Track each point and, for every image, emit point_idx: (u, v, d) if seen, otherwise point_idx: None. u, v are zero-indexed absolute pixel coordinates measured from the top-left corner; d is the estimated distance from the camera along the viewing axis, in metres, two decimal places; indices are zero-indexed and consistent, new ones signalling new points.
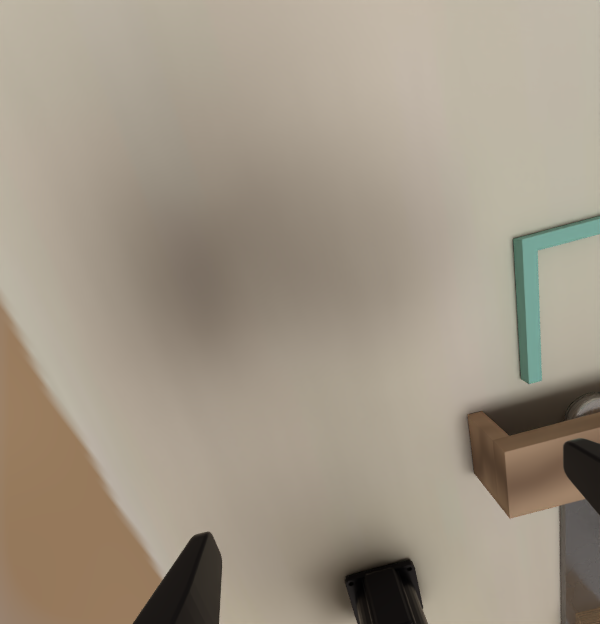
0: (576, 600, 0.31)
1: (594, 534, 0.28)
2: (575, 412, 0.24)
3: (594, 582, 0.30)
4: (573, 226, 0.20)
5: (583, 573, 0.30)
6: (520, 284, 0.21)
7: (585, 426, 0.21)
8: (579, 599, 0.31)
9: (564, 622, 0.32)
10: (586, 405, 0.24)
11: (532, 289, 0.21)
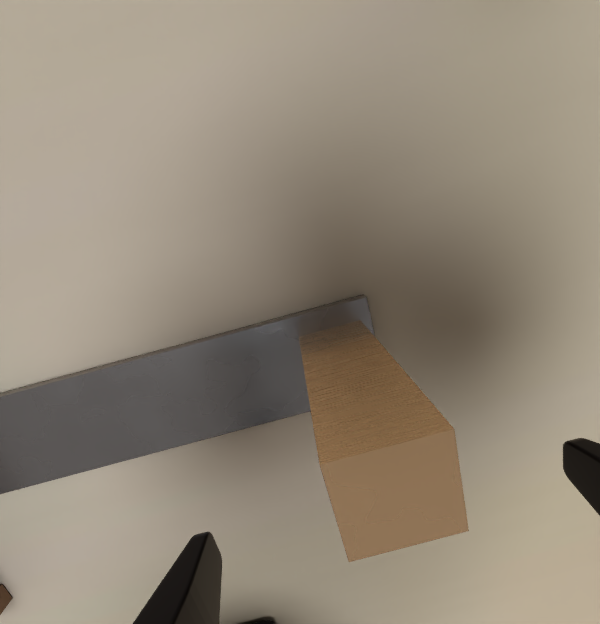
0: (275, 399, 0.15)
1: (96, 417, 0.15)
2: None
3: (226, 379, 0.15)
4: None
5: (200, 407, 0.15)
6: None
7: None
8: (273, 394, 0.15)
9: None
10: None
11: None
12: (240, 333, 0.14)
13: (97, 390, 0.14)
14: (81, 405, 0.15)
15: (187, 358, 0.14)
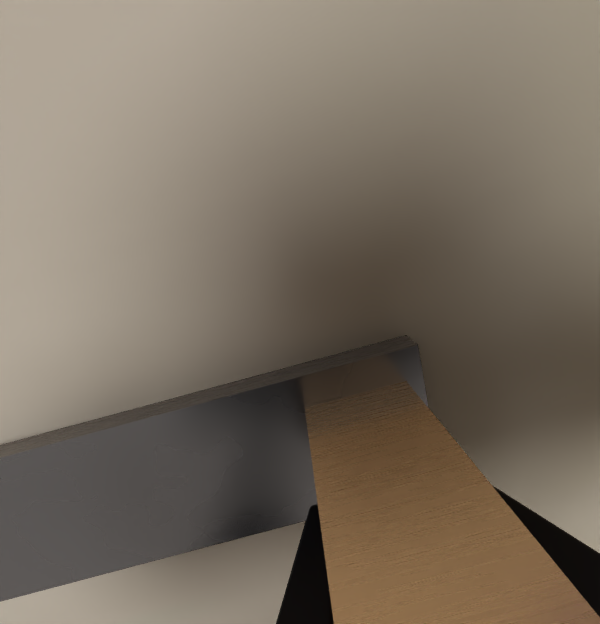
0: (267, 501, 0.10)
1: None
2: None
3: (187, 473, 0.09)
4: None
5: (147, 516, 0.09)
6: None
7: None
8: (265, 494, 0.09)
9: None
10: None
11: None
12: (208, 404, 0.09)
13: None
14: None
15: (122, 444, 0.09)
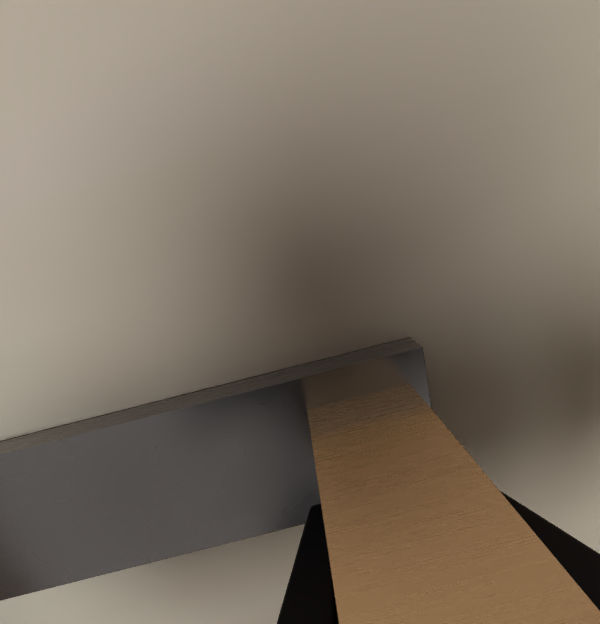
0: (267, 504, 0.09)
1: None
2: None
3: (186, 474, 0.09)
4: None
5: (145, 517, 0.09)
6: None
7: None
8: (264, 496, 0.09)
9: None
10: None
11: None
12: (209, 404, 0.08)
13: None
14: None
15: (121, 443, 0.09)
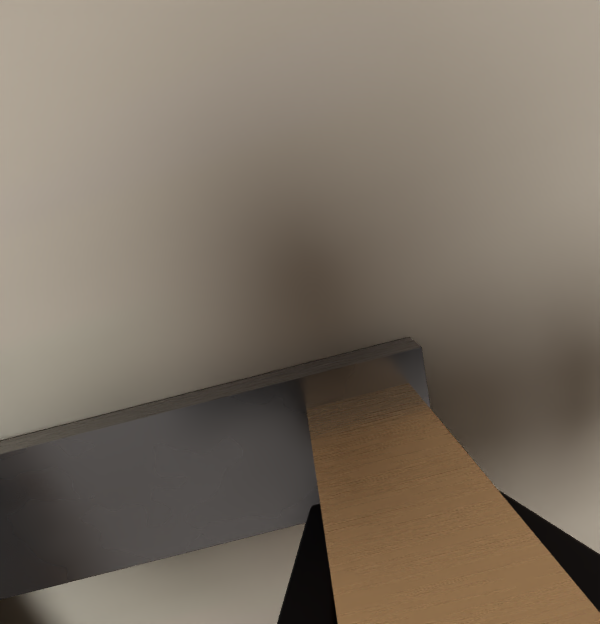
0: (267, 503, 0.09)
1: None
2: None
3: (186, 473, 0.09)
4: None
5: (145, 516, 0.09)
6: None
7: None
8: (264, 496, 0.09)
9: None
10: None
11: None
12: (209, 404, 0.08)
13: None
14: None
15: (121, 443, 0.09)
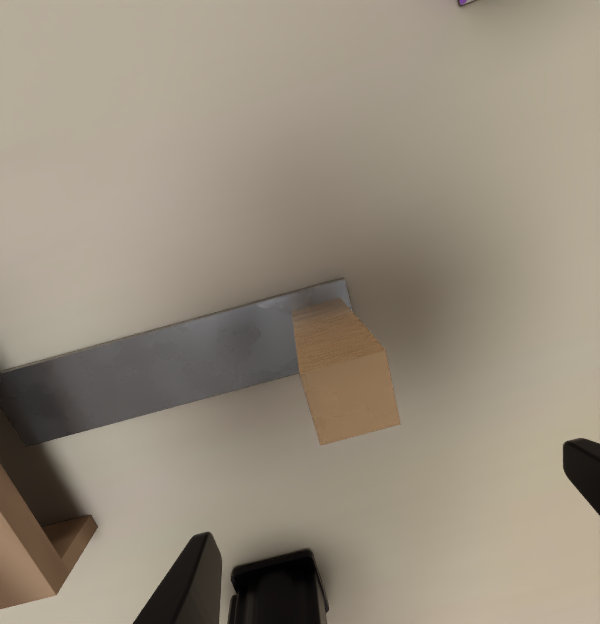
0: (273, 362, 0.19)
1: (129, 376, 0.18)
2: None
3: (233, 345, 0.18)
4: None
5: (212, 369, 0.19)
6: None
7: None
8: (271, 358, 0.19)
9: None
10: None
11: None
12: (245, 308, 0.18)
13: (131, 354, 0.18)
14: (118, 366, 0.18)
15: (203, 328, 0.18)
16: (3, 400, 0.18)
